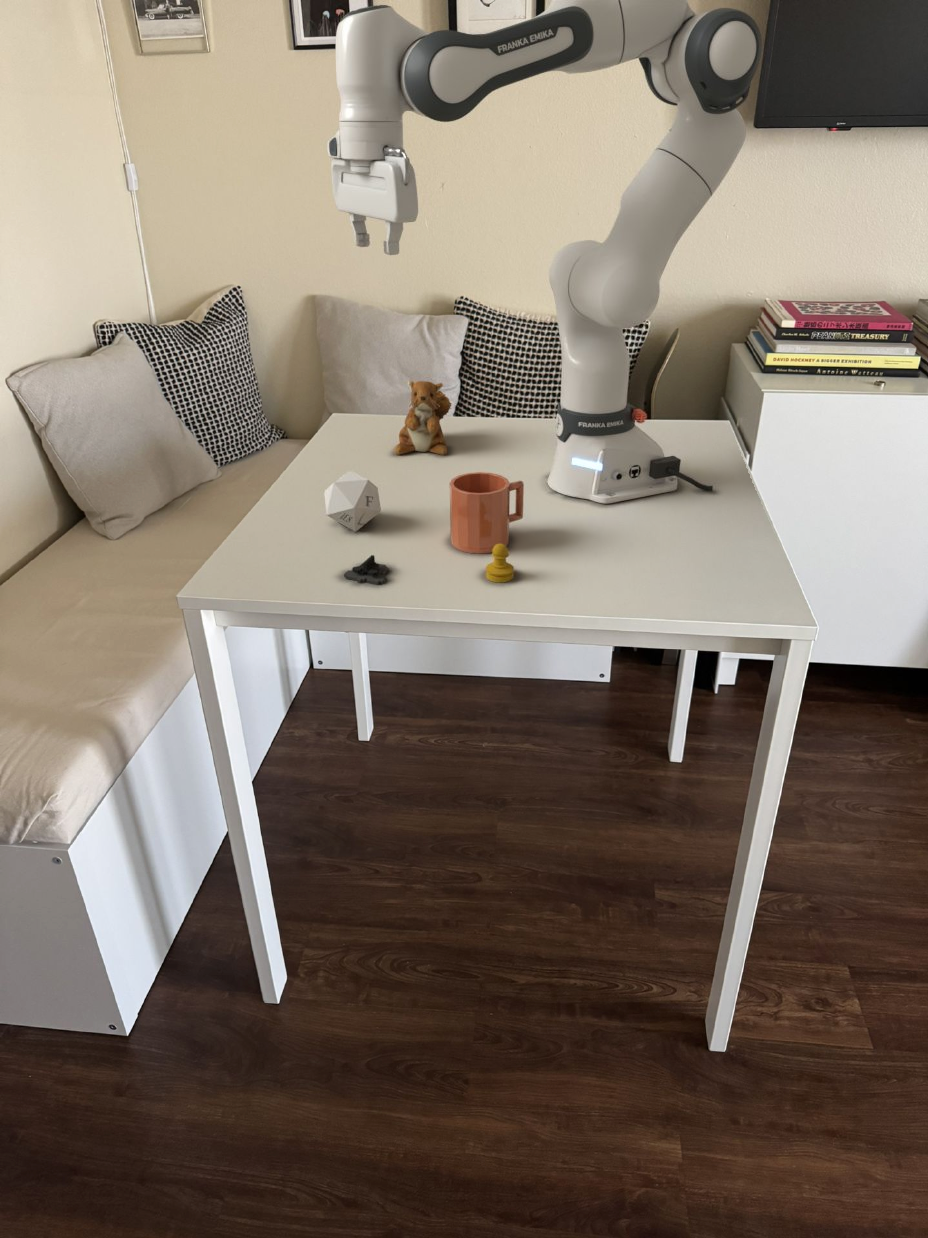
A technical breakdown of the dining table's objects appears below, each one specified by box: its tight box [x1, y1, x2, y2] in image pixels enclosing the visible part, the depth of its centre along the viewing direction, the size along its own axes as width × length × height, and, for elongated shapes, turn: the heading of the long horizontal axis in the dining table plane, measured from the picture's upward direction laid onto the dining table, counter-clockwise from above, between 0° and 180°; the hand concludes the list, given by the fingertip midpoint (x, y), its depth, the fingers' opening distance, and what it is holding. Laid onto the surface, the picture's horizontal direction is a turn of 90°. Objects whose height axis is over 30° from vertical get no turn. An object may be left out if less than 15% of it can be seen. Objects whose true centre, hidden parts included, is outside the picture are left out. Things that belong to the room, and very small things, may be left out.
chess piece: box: [485, 544, 515, 583], centre depth 126 cm, size 4×4×5 cm
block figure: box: [343, 554, 390, 586], centre depth 128 cm, size 6×2×6 cm
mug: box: [449, 471, 525, 555], centre depth 136 cm, size 12×9×10 cm
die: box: [323, 470, 382, 533], centre depth 142 cm, size 8×9×10 cm
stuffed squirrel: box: [393, 380, 452, 456], centre depth 172 cm, size 10×14×13 cm
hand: (376, 250), depth 133 cm, fingers open, 8 cm apart
